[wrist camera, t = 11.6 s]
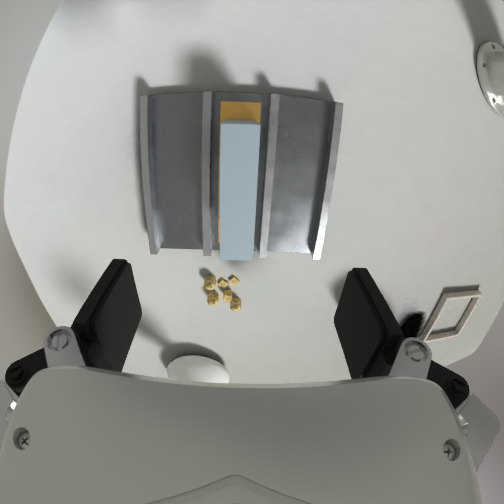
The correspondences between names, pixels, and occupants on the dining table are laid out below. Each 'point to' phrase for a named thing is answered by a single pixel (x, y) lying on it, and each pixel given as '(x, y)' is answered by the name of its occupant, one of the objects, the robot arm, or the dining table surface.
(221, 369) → the flower in vase
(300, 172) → the rack
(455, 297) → the beige square frame
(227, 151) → the blue-grey rectangular block
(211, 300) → the dice set
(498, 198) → the dining table surface
